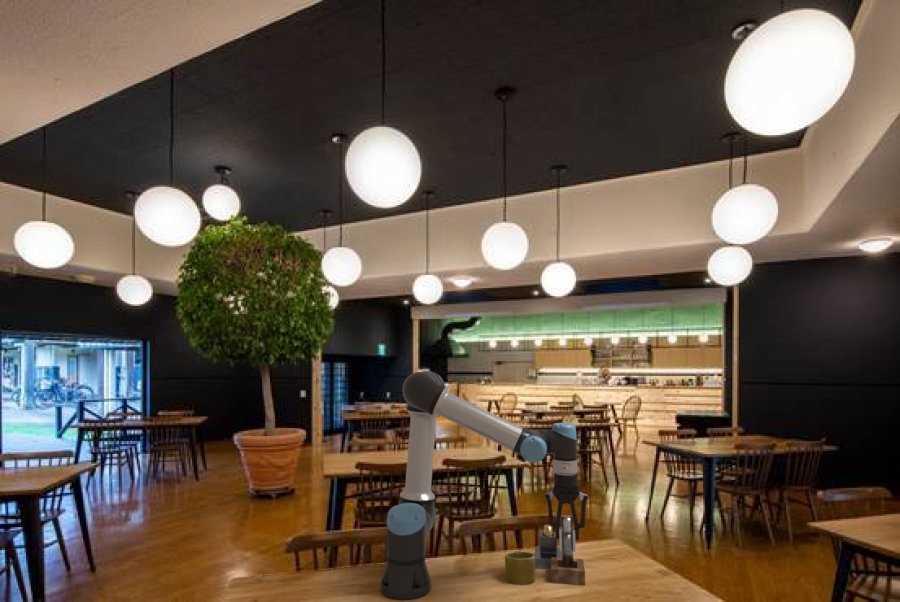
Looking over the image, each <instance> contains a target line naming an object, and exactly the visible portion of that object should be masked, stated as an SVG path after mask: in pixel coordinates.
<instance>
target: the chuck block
mask: <svg viewBox="0 0 900 602" xmlns="http://www.w3.org/2000/svg"><path fill="white" fill-rule="evenodd" d="M557 541H558V539H556V531H552V536H544V530H543V531H539V546H537V545H535V546H534V547H535V548H534V556H535V570H536V569H537V570H547V571H548V570H549V571H551V557H556V558H562V551H560V547H558V546H557V545H558V543H557Z"/></svg>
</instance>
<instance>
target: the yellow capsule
mask: <svg viewBox="0 0 900 602" xmlns="http://www.w3.org/2000/svg"><path fill="white" fill-rule="evenodd" d="M543 531H544V536H552V532H553V526H550V524H544V525H543Z"/></svg>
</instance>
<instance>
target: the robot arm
mask: <svg viewBox="0 0 900 602" xmlns="http://www.w3.org/2000/svg"><path fill="white" fill-rule="evenodd" d="M402 397H403V398H404V400H405V401H406V412H407V413H408V414H409V415H410V420H409V422H410V423H409V435H408V444H407V445H408V447H407V448H408V449H407V461H406V471H405V472H406V473H405V484H404V485H405V486H404V489H403V490H402V491H401V492H400V493H399V501H398V502H399V503H398V505H396V504H395V505H394V506H392V507H391V508H390V509H389V510H388V512H387V519H386V563H385V566H384V570H383V573H382V576H381V580H380V593H381V594H382V595H383V596H385V597H387V598H390V599H394V600H403V601H404V600H405V601H406V600H414V599H418V598H422V597H424V596H426V595H428V593H430V592H431V589H432V579H431V575H430V573H429V570H428V566H427V563H426V539H427V536H428V535H429V532H431V530H432V529H433V527H434V525H435V523H436V518H437V515H436V514H437V512H436V511H437V510H436V507H435V502H436V500H435V499H436V495H435V494H434V493H433V491H432V480H433V479H432V478H433V467H434V465H433V464H434V455H435V453H434V452H435V439H436V425H437V417H438V416H440V417H442V418H444V419H447V420H448V421H451V422H452V423H454V424H456V425H458V426H461V427H462V428H464V429H467V430H469V431H471V432H474V433H475V434H477V435H479V436H481V437H483V438H484V439H487V440H488V441H491V442H493V443H495V444H497V445H499V446H502V447H503V448H506V449H508V450H510V451H511V452H513V453H515V454H517V455H519V456H521V457H522V458H523V459H524V460H525V461H526V462H528V463H533V464H535V463H540V462H541V461H543V459H544V458H545V457H546V455H547V454H548V455H551V454H552V458H553V459H552V460H553V461H552V463H553V472H554V473H553V488H552V490H551V491H549V492H545V494H544V497H545V499H546V502H547V510H548V511H547V512H548V521H549V525H550V526H552V528H554V529H555V532H556V539H557V540H559V548H560V551H562V527H561V526H560V525H561V516H562V510H563V507H564V506H563V505H564V504H567V505H570V510H571V516H572V522H573V525H574V526H573V553H576V552H577V551H576V548H577V546H576V541H579V539H580V529H582V528H585V525H586V524H585V523H586V503H587V502H588V501H587V500H588V498H589V497H588V495H587V493H582V492H581V491H580V488H579V481H578V480H579V479H578V478H579V476H578V474H577V473H578V445H577V444H578V439H577V429H576V426H575V425H574V424H573V423H571V422H570V423H568V422H555V423H553V424H552V426H551V429H533V428H532V429H527V428H523V427H521V426H519V425H518V424H517V425H516V424H515V423H512V422H511V421H508V420H507V419H504V418H503V417H500V416H499V415H497V414H494V413H492V412H490V411H488V410H486V409H484V408H482V407H480V406H478V405H476V404H474V403H471V402H470V401H467V400H465V399H463V398H461V397H459V396H458V395H455V394H453V393H451V392H449V389H448V387H447V386H445V383H444V380H443V379H442V377H441V376H440V375H439V374H438V373H436V372H434V371H431V370H422V371H416V372H413V373H411V374H410V375H408V376H407V377H406V379H405V380H404V382H403V384H402ZM553 496H554V497H555V499H556V500H557V502H558V504H557V510H556V517H555V521H554V515H553V503H552V500H553ZM578 497H579V501H581V502H580V522H579V521H578V516H577V511H576V507H575V501H577V499H578Z"/></svg>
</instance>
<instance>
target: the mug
mask: <svg viewBox="0 0 900 602" xmlns="http://www.w3.org/2000/svg"><path fill="white" fill-rule="evenodd" d="M504 567H505V574H506V579H507V581H508V582H509V583H512V584H514V585H516V586H517V585H518V586H528V585H532V584H534V583H535V582H536V569H535V554H534V553H532V552H527V551H521V550H517V551H516V550H515V552H508V553H506V554H505V557H504Z"/></svg>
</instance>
